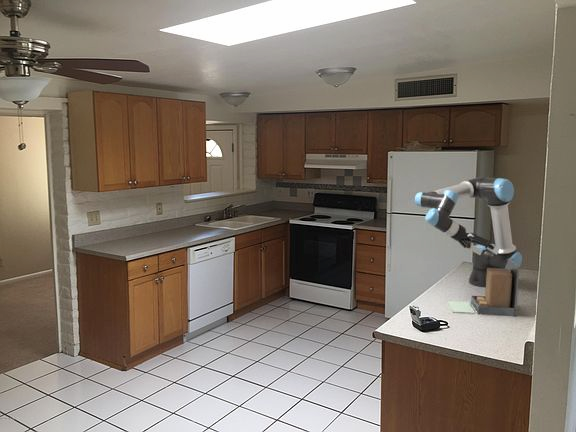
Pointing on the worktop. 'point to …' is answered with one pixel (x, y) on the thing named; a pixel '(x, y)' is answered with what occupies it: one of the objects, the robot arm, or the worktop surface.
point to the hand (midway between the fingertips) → (489, 252)
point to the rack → (513, 302)
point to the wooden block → (498, 287)
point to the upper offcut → (481, 301)
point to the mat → (461, 307)
